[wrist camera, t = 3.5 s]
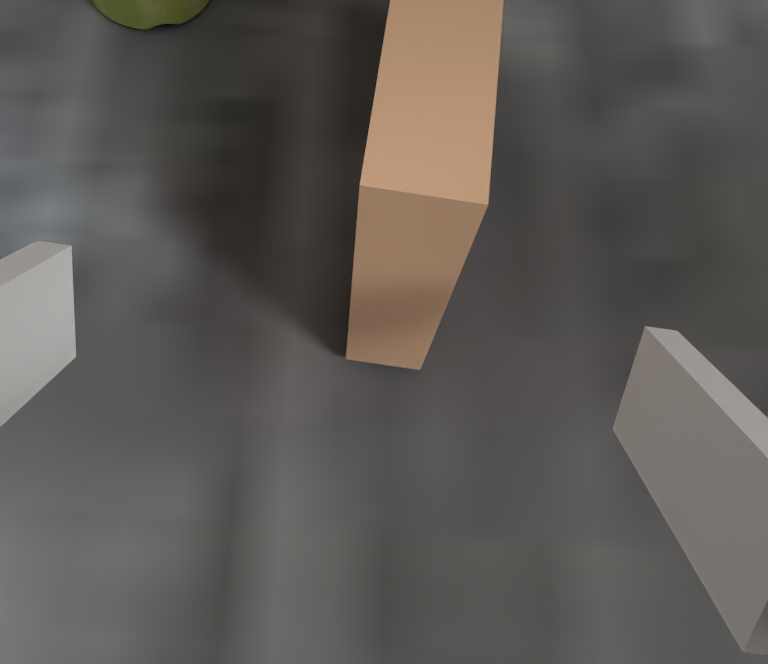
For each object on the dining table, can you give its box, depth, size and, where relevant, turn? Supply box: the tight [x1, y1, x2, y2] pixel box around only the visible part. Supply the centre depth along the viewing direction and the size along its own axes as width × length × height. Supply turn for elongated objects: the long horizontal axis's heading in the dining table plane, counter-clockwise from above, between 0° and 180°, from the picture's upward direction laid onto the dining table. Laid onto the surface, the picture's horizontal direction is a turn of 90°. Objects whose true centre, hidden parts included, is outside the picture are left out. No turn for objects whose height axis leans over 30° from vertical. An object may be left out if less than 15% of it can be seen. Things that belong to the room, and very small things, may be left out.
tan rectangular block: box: [346, 0, 504, 370], centre depth 22 cm, size 3×7×12 cm, turn 173°
